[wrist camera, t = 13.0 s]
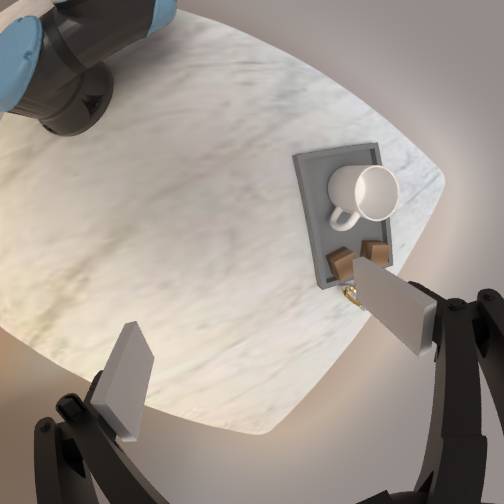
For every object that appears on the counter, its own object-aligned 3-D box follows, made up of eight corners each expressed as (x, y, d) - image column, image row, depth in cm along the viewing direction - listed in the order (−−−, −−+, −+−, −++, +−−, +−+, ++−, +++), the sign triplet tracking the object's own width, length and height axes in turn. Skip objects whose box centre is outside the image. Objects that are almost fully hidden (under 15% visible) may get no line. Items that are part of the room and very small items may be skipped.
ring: (333, 289, 52) (351, 307, 44) (340, 274, 52) (360, 290, 44) (358, 299, 54) (378, 316, 46) (365, 285, 53) (386, 301, 46)
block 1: (325, 255, 49) (334, 262, 45) (343, 246, 49) (354, 252, 45) (331, 273, 50) (340, 281, 46) (349, 264, 50) (359, 271, 46)
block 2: (361, 240, 49) (372, 245, 46) (378, 240, 50) (390, 245, 46) (359, 260, 50) (369, 266, 47) (375, 259, 51) (386, 266, 47)
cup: (373, 185, 47) (407, 190, 37) (338, 237, 48) (366, 252, 39) (343, 156, 45) (374, 153, 35) (304, 209, 46) (329, 218, 36)
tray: (292, 156, 44) (296, 155, 42) (370, 143, 45) (377, 142, 43) (317, 284, 51) (322, 290, 49) (386, 261, 52) (392, 265, 50)
